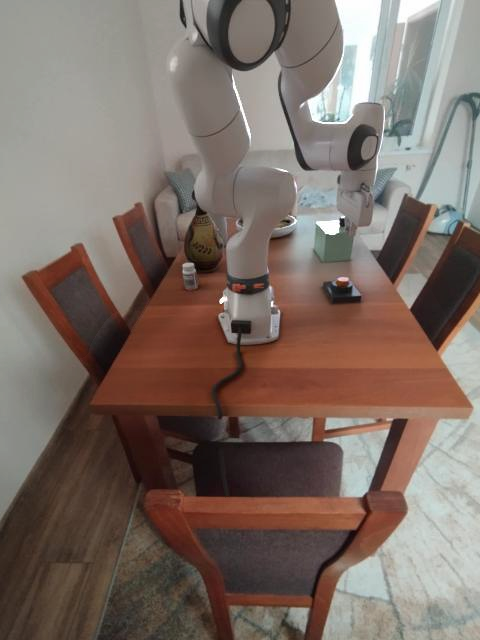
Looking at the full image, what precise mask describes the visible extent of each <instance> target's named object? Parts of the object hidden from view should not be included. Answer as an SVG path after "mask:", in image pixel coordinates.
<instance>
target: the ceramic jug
mask: <svg viewBox="0 0 480 640" xmlns="http://www.w3.org/2000/svg"><path fill="white" fill-rule="evenodd" d="M191 199H192V200H193V201H194V202H195V206H196V207H195V208H196V209H195V214H194V215H193V217H192V219H191V221H190V223H189V225H188V227H187V230H186V232H185V235H184V242H183V252H184V256H185V258H186V260H187V262H188V263H193V264H194V269H195V270H196V273H199V274H206V273H212V272H214V271H216V270H217V268H218V265H219V264H220V262H221V261H222V259H223V257H224V253H225V246H224V242H223V238H222V236H221V233H220V231H219V229H218V227H217V226H216V225H215V223H214V222H213V220H212V219H211V218H210V216H209V215H208V213H207V212H205V211H203V210H202V209H201V208H200V207H199V205H198V203H197V201H196V198H195V190H194V189H193V190H192V192H191Z"/></svg>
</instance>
